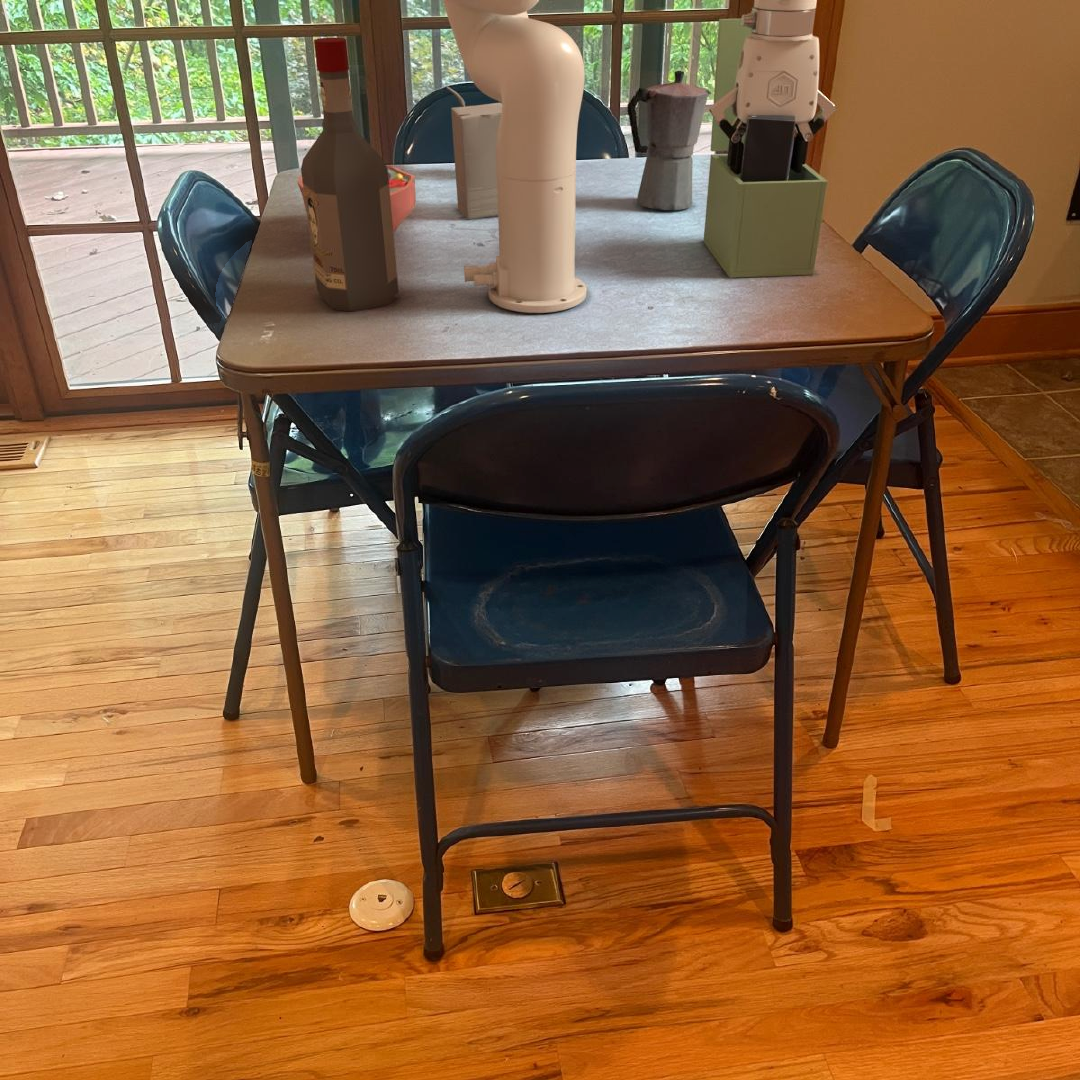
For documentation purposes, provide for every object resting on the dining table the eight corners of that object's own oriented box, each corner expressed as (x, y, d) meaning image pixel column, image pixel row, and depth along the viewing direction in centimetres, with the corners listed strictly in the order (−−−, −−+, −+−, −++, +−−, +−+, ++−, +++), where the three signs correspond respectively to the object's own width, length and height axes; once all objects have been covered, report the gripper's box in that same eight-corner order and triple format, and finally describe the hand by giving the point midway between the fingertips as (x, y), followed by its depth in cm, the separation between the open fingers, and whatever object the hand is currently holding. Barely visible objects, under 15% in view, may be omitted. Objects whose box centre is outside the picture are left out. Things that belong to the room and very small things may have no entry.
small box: (786, 204, 131) (798, 119, 125) (736, 202, 132) (745, 117, 126) (786, 183, 140) (797, 103, 134) (739, 181, 141) (747, 101, 135)
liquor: (380, 281, 134) (355, 32, 117) (404, 303, 127) (382, 42, 111) (313, 292, 131) (279, 37, 114) (334, 315, 124) (301, 48, 107)
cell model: (306, 261, 141) (294, 178, 134) (304, 220, 157) (293, 145, 151) (425, 253, 144) (420, 171, 137) (411, 213, 160) (406, 139, 154)
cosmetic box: (504, 204, 164) (502, 100, 155) (517, 216, 158) (515, 109, 149) (454, 209, 162) (448, 104, 153) (465, 221, 156) (460, 113, 147)
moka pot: (718, 204, 163) (731, 70, 152) (645, 220, 156) (652, 81, 145) (680, 191, 170) (689, 62, 158) (608, 206, 163) (612, 72, 151)
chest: (813, 274, 135) (827, 181, 128) (729, 278, 134) (738, 183, 127) (780, 239, 148) (791, 152, 141) (703, 241, 147) (710, 154, 140)
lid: (806, 17, 132) (804, 17, 133) (720, 19, 132) (718, 19, 132) (793, 149, 140) (791, 148, 141) (711, 151, 140) (710, 150, 140)
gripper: (721, 29, 121) (707, 180, 131) (861, 27, 122) (837, 176, 132) (707, 21, 127) (695, 165, 137) (840, 19, 128) (819, 162, 138)
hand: (765, 170), depth 134 cm, fingers closed on small box, 7 cm apart
